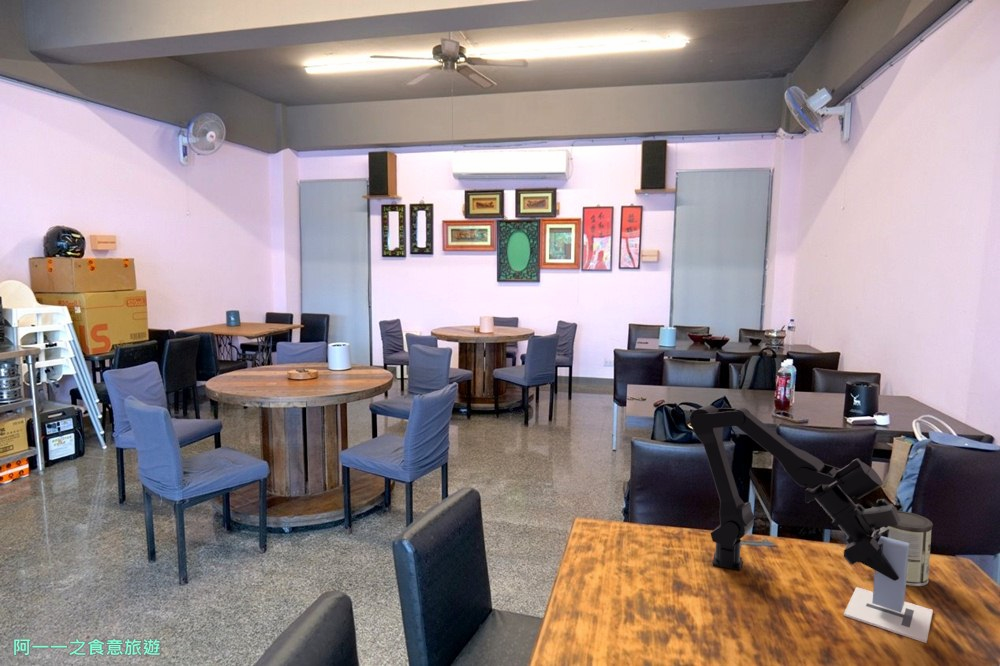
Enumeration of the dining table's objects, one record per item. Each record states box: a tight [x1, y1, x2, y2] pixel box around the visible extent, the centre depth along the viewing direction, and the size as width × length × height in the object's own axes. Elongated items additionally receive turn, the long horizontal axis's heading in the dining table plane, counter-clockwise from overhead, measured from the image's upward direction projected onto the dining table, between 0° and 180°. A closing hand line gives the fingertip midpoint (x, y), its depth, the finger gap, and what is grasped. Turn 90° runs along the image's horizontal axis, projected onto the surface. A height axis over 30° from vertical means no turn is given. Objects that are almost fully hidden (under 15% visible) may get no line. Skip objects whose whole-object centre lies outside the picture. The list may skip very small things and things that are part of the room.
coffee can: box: [879, 509, 934, 587], centre depth 137 cm, size 10×10×14 cm
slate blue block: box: [872, 536, 909, 612], centre depth 121 cm, size 5×5×13 cm
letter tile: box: [843, 586, 934, 644], centre depth 121 cm, size 14×14×1 cm
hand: (898, 574), depth 120 cm, fingers closed on slate blue block, 5 cm apart
